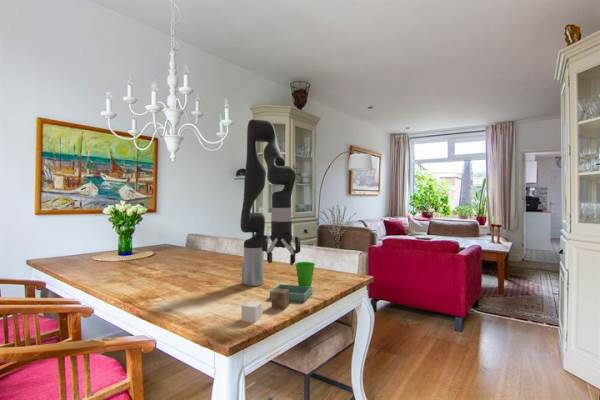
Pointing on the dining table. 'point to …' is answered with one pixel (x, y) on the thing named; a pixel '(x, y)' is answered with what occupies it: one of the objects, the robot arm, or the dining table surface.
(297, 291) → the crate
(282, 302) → the walnut block
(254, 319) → the cream box
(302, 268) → the cup
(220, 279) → the dining table surface
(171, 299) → the dining table surface
